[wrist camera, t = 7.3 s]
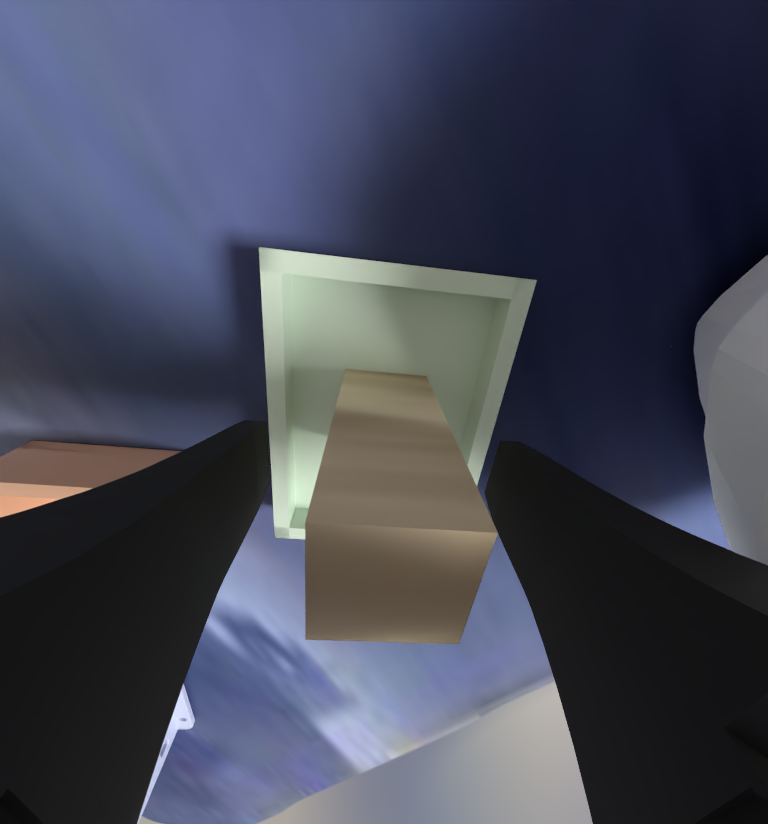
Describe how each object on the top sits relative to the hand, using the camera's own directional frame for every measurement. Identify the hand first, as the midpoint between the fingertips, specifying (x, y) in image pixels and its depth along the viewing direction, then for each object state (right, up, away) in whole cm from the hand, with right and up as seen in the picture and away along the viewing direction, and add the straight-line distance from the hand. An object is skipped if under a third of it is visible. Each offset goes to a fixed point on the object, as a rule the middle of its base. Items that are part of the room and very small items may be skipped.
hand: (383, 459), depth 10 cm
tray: (0, +2, +3) cm, 3 cm away
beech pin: (0, +2, +2) cm, 3 cm away
